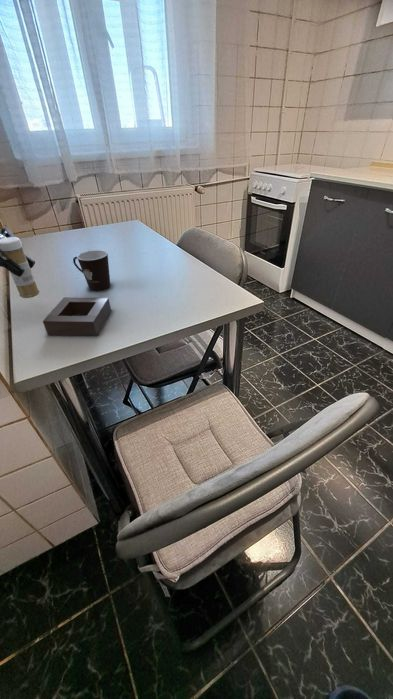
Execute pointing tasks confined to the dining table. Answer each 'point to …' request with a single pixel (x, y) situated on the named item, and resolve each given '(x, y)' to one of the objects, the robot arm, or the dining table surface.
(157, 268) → the dining table surface
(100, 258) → the coffee mug
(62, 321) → the bottle rack
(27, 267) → the sprinkles bottle
